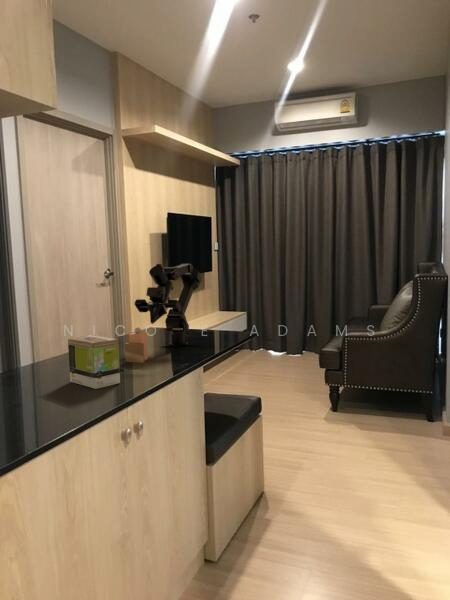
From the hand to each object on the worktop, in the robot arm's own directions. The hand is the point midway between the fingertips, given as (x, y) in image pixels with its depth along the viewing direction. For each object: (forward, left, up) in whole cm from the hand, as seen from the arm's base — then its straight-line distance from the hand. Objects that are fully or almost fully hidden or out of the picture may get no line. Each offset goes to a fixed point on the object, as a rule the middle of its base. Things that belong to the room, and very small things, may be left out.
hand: (151, 323), depth 204 cm
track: (+5, +5, -13) cm, 15 cm away
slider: (+9, +8, -12) cm, 17 cm away
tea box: (+31, +25, -14) cm, 42 cm away
